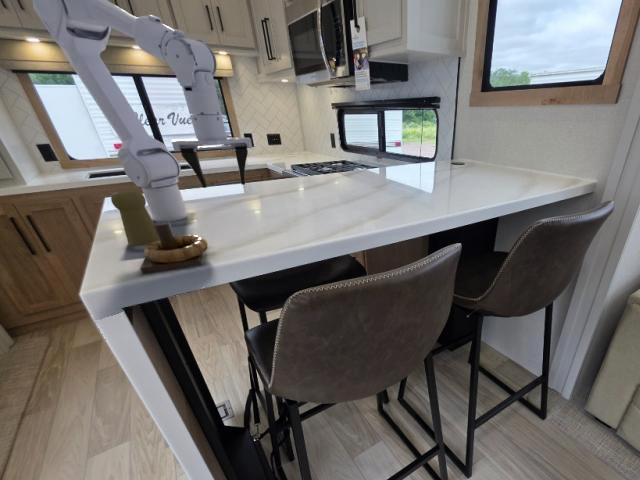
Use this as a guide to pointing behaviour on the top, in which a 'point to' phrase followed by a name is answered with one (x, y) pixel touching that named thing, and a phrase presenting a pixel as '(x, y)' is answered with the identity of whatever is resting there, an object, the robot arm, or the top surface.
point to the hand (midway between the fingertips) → (224, 185)
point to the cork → (135, 217)
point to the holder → (167, 243)
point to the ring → (192, 250)
